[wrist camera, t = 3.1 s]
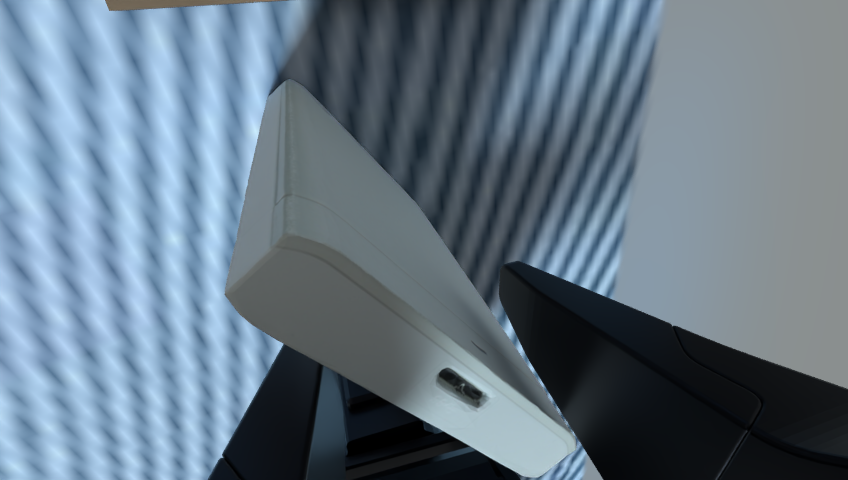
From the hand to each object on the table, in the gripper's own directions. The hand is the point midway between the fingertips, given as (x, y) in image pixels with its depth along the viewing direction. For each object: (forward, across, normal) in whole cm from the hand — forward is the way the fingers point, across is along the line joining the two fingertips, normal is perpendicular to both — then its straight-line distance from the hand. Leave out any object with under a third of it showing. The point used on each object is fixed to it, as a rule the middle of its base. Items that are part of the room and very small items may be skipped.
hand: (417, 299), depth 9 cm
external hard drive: (+10, 0, 0) cm, 10 cm away
